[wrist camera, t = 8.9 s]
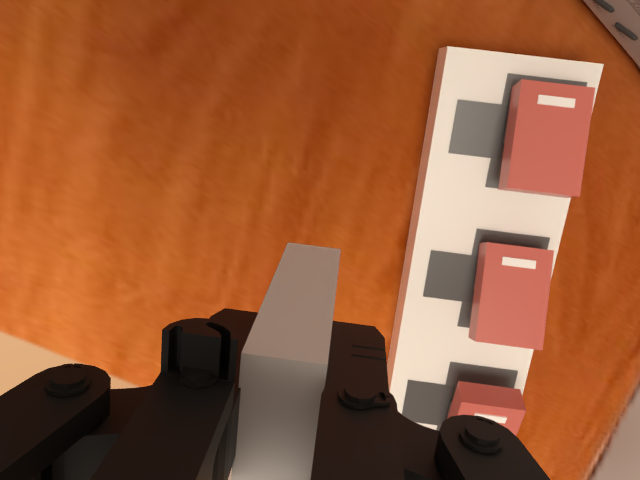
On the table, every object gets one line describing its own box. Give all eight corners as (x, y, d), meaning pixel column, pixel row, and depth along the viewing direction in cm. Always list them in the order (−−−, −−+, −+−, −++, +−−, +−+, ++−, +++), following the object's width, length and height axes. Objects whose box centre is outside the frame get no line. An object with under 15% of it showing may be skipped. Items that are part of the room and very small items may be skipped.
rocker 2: (479, 243, 36) (487, 242, 34) (543, 250, 36) (554, 250, 34) (468, 337, 36) (475, 341, 34) (532, 345, 36) (543, 350, 34)
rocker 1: (512, 86, 33) (522, 78, 31) (581, 95, 33) (596, 87, 31) (498, 189, 33) (507, 187, 32) (566, 198, 33) (580, 196, 31)
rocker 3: (458, 380, 37) (461, 403, 36) (520, 389, 37) (526, 412, 35) (439, 441, 40) (442, 464, 39) (496, 449, 40) (501, 473, 39)
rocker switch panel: (439, 48, 37) (449, 45, 33) (578, 64, 37) (608, 63, 32) (378, 419, 45) (379, 457, 41) (491, 434, 45) (506, 475, 40)
